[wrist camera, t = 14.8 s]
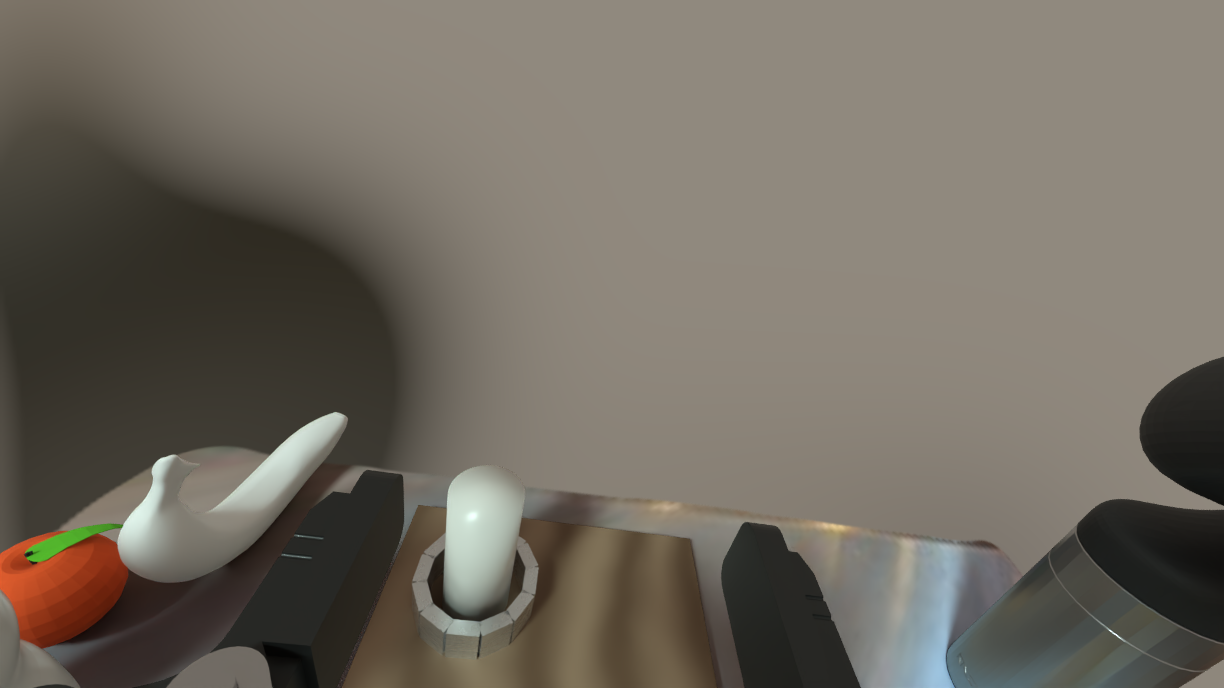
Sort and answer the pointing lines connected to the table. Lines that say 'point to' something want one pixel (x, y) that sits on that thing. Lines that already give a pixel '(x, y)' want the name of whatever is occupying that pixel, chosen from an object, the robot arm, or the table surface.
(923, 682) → the table surface
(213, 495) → the table surface
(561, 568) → the board
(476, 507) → the white rounded cylinder
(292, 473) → the white bird figurine
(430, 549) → the collar
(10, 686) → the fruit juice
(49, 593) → the clementine
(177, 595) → the table surface
